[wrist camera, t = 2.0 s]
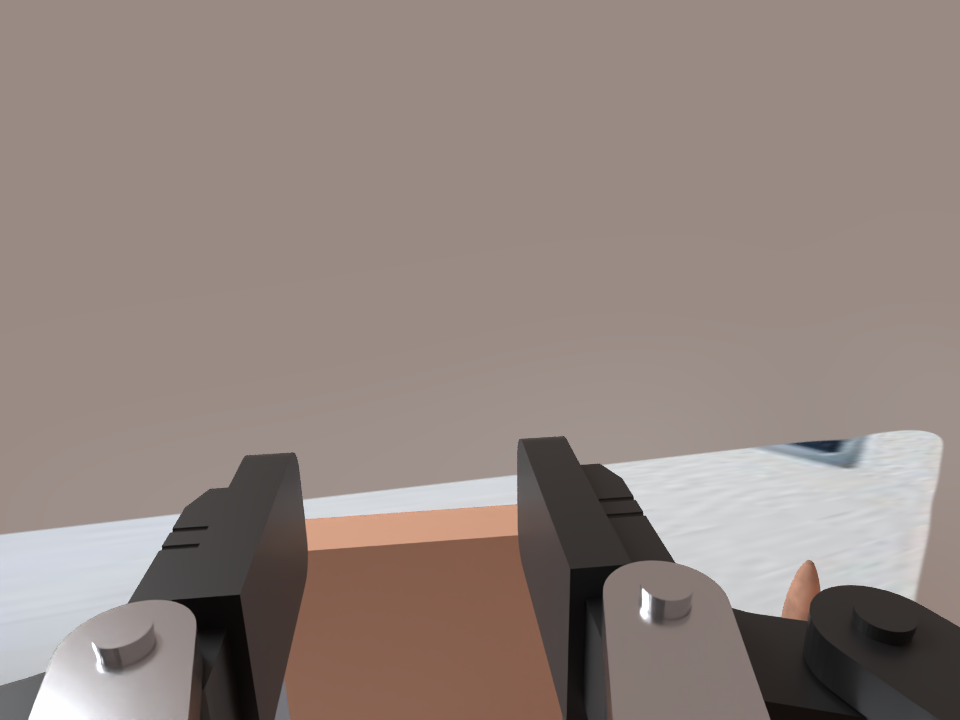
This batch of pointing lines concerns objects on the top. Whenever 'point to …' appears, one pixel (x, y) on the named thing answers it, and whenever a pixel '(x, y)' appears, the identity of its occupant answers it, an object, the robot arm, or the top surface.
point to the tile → (418, 621)
